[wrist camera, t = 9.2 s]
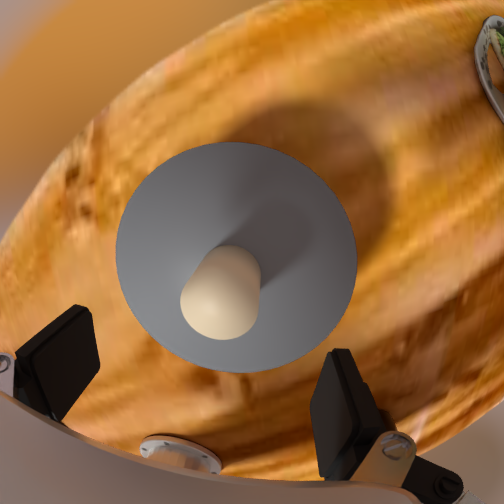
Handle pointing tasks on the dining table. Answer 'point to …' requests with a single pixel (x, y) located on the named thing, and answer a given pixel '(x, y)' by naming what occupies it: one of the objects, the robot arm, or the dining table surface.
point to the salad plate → (500, 36)
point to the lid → (236, 257)
